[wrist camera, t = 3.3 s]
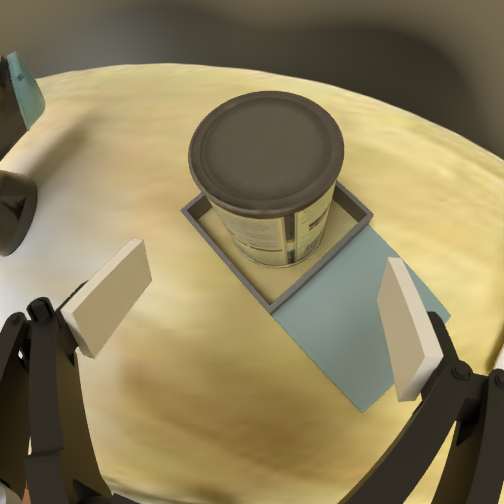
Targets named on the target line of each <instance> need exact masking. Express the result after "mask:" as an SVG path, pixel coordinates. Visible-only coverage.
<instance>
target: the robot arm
mask: <svg viewBox="0 0 504 504" xmlns="http://www.w3.org/2000/svg"><path fill="white" fill-rule="evenodd" d="M44 110H45V100H44V97H43V95H42V92H41V90H40V88H39V86H38V84H37V82H36V80H35V79H34V77H33V75H32V73H31V71H30V70H29V68H28V67H27V65H26V63H25V62H24V60H23V59H22V58H21V56H20V55H18V53H17V52H13V53H12V54H9V55H8V56H7V58H6V59H5V58H4V57H3V56H2V55H1V54H0V162H1V160H2V159H3V158H4V157H5V156H6V154H7V153H8V152H9V151H10V150H11V148H12V147H13V146H14V145H15V144H16V143H17V142H18V140H19V139H20V138H21V137H22V136H23V135H24V134H25V133H26V132H27V131H29V130H30V128H31V126H32V125H33V124H34V123H35V122H36V121H37V120H38V118H39V117H40V116H41V115H42V114H43V112H44ZM36 200H37V190H36V186H35V183H34V182H33V181H32V180H31V179H29V178H28V177H26V176H25V175H22V174H17V173H13V172H8V171H3V170H0V256H7V255H9V254H11V253H12V252H13V251H14V250H15V249H16V248H17V247H18V245H19V244H20V243H21V241H22V240H23V238H24V236H25V234H26V232H27V230H28V228H29V226H30V223H31V221H32V218H33V215H34V211H35V207H36ZM151 281H152V278H151V273H150V269H149V265H148V260H147V255H146V250H145V245H144V240H139V239H132V240H131V241H130V242H129V243H128V244H126V245H125V246H124V247H123V248H122V249H121V250H120V251H119V252H118V253H117V254H116V255H115V256H114V257H112V258H111V259H110V260H109V261H108V262H107V263H106V264H105V265H104V266H103V267H102V268H101V269H100V270H99V271H98V272H97V273H96V274H95V275H94V276H93V277H92V278H91V279H90V280H88V281H86V282H84V283H83V284H81V285H80V286H79V287H78V288H77V289H76V290H75V292H73V293H72V294H71V295H70V297H68V298H67V299H66V300H65V301H64V302H63V303H62V304H61V306H60V307H59V308H58V309H57V310H56V311H54V309H53V307H52V305H51V302H50V300H49V299H48V298H47V297H40V298H37V299H35V300H33V301H32V302H31V303H30V304H29V305H28V306H27V309H26V310H27V312H28V314H29V316H30V317H31V319H32V320H27V318H26V316H25V315H24V313H22V312H17V313H13V314H12V315H11V316H10V317H9V318H8V319H7V320H6V322H5V324H4V326H3V328H2V330H1V332H0V504H22V501H23V497H24V492H25V486H26V481H27V486H28V492H29V497H30V501H31V504H139V503H137V502H135V501H132V500H130V499H127V498H125V497H123V496H120V495H118V494H116V493H114V494H113V496H112V493H111V491H110V489H109V487H108V486H107V484H106V483H105V482H104V480H103V479H102V477H101V474H100V472H99V468H98V465H97V461H96V458H95V454H94V450H93V446H92V442H91V438H90V434H89V429H88V424H87V420H86V415H85V409H84V404H83V398H82V391H81V384H80V377H79V368H78V359H77V354H76V352H75V349H76V348H77V347H79V348H80V350H81V352H82V354H83V355H85V356H88V357H91V358H94V359H95V357H96V356H97V354H98V353H99V352H100V350H101V349H102V347H103V346H104V344H105V343H106V342H107V340H108V339H109V337H110V336H111V335H112V333H113V332H114V330H115V329H116V328H117V326H118V325H119V324H120V322H121V321H122V319H123V318H124V317H125V315H126V314H127V313H128V311H129V310H130V309H131V307H132V306H133V305H134V303H135V302H136V301H137V299H138V298H139V297H140V295H141V294H142V293H143V292H144V290H145V289H146V288H147V286H148V285H149V284H150V283H151ZM377 304H378V308H379V312H380V316H381V320H382V324H383V328H384V332H385V337H386V341H387V345H388V350H389V355H390V359H391V364H392V369H393V375H394V380H395V386H396V392H397V398H398V402H403V401H415V400H416V398H417V397H418V395H419V394H420V392H421V396H422V401H421V403H420V404H419V406H418V407H417V408H416V409H415V411H414V412H413V413H412V414H413V415H412V416H411V418H410V419H409V421H408V422H407V424H406V425H405V426H404V428H403V429H402V431H401V432H400V433H399V435H398V436H397V437H396V439H395V440H394V441H393V443H392V444H391V445H390V446H389V448H388V449H387V450H386V451H385V453H384V454H383V455H382V456H381V458H380V459H379V460H378V461H377V462H376V463H375V465H374V466H373V467H372V468H371V469H370V470H369V472H368V473H367V474H366V475H365V476H364V477H363V478H362V479H361V480H360V481H359V482H358V484H357V485H356V486H355V487H354V488H353V489H352V490H351V491H350V492H349V493H348V494H347V495H346V496H345V497H344V498H343V499H342V500H341V501H340V502H339V503H338V504H403V502H404V501H405V500H406V499H407V497H408V496H409V495H410V493H411V492H412V491H413V489H414V488H415V486H416V485H417V484H418V482H419V481H420V479H421V478H422V476H423V475H424V473H425V472H426V470H427V469H428V467H429V466H430V464H431V463H432V461H433V459H434V458H435V456H436V454H437V453H438V451H439V449H440V448H441V446H442V444H443V442H444V441H445V439H446V437H447V435H448V433H449V431H450V429H451V427H452V425H453V424H454V422H455V421H457V422H456V427H455V431H454V435H453V439H452V443H451V447H450V450H449V454H448V457H447V460H446V464H445V467H444V470H443V473H442V476H441V479H440V482H439V484H438V487H437V490H436V492H435V495H434V497H433V500H432V502H431V504H498V501H499V498H500V494H501V490H502V485H503V481H504V370H503V369H499V368H496V369H493V370H492V371H491V373H490V374H489V375H488V376H484V375H479V374H475V373H473V371H472V369H471V367H470V366H469V365H468V364H467V363H466V362H464V361H461V360H459V358H458V356H457V353H456V351H455V348H454V346H453V343H452V341H451V338H450V336H449V334H448V331H447V329H446V327H445V325H444V322H443V320H442V319H441V317H440V316H439V315H438V314H437V313H436V312H433V311H426V310H425V308H424V305H423V303H422V301H421V299H420V296H419V294H418V292H417V290H416V288H415V285H414V283H413V281H412V279H411V277H410V275H409V273H408V271H407V269H406V267H405V265H404V263H403V261H402V259H401V258H394V257H388V258H387V262H386V266H385V270H384V274H383V278H382V282H381V286H380V290H379V293H378V297H377ZM19 350H20V352H21V353H22V355H23V356H22V359H21V358H20V357H19V356H18V354H19ZM30 438H31V448H32V453H31V455H28V449H29V440H30Z"/></svg>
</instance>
